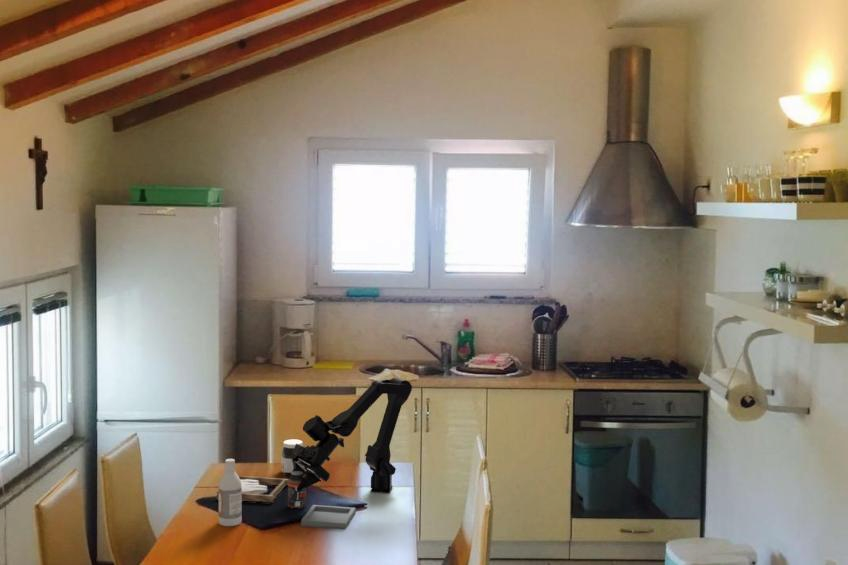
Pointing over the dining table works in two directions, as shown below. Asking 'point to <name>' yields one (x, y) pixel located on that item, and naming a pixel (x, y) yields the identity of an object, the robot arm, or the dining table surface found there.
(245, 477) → the frame
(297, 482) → the supplement bottle
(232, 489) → the bath foam
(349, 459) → the dining table surface
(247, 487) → the salt and pepper shakers
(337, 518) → the tray
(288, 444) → the spread jar
